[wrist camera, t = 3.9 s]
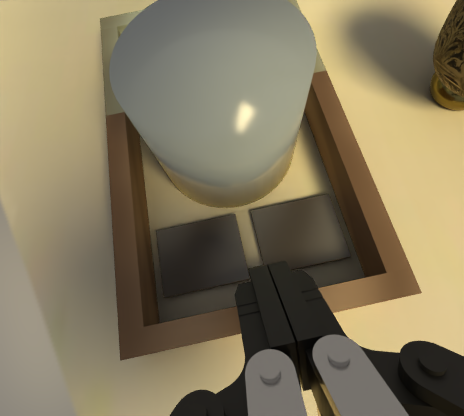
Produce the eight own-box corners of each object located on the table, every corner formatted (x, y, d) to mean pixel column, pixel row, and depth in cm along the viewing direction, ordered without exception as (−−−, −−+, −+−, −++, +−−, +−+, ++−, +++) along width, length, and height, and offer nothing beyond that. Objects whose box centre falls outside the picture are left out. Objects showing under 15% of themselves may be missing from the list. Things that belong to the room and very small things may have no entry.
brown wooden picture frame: (283, 14, 23) (288, -19, 20) (394, 294, 15) (421, 292, 13) (115, 48, 23) (100, 18, 20) (140, 351, 15) (120, 360, 12)
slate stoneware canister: (269, 81, 20) (276, -37, 13) (313, 185, 17) (352, 103, 10) (154, 113, 20) (100, 11, 13) (177, 224, 17) (122, 168, 10)
